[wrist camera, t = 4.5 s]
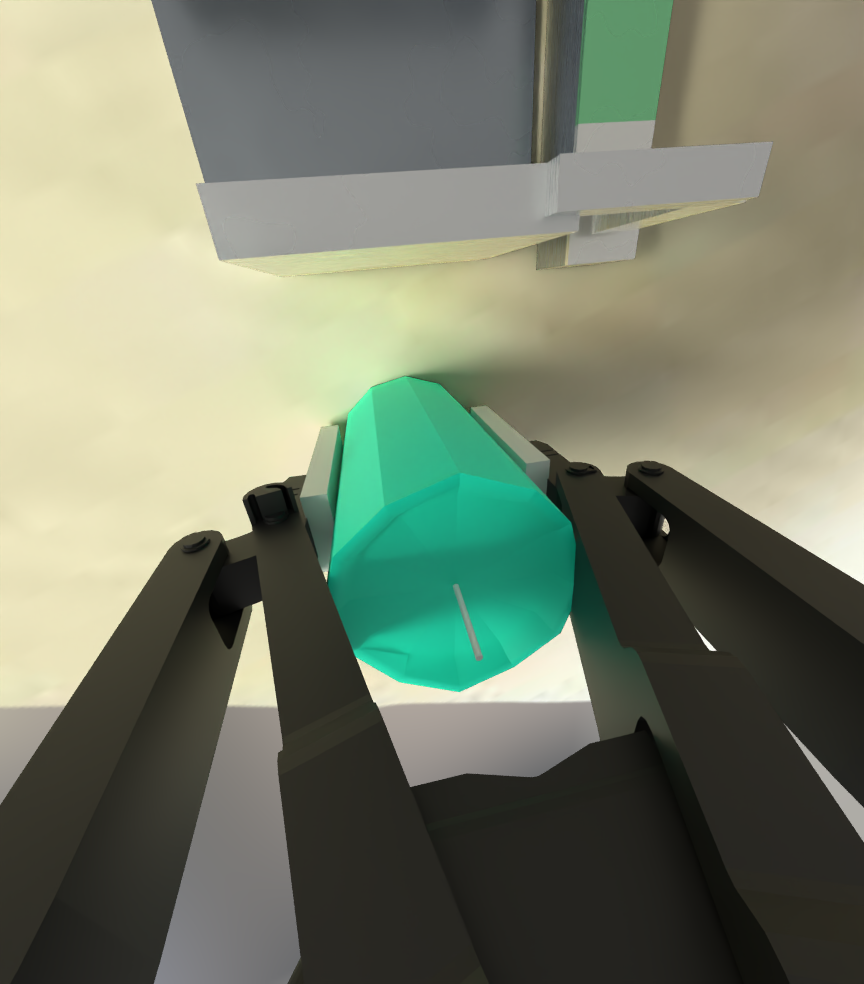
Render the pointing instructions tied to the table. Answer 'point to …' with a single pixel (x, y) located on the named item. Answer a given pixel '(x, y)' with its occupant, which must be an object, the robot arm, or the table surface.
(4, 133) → the table surface
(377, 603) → the candle
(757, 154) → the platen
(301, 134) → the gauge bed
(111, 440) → the table surface
